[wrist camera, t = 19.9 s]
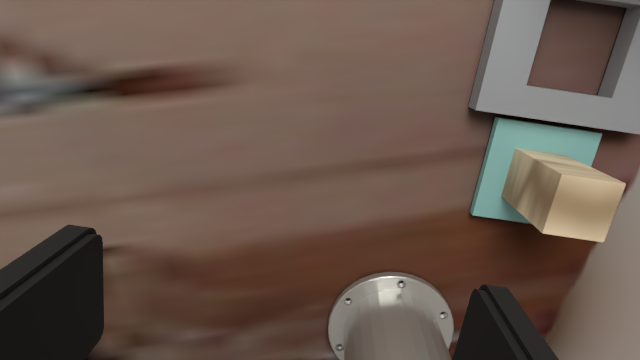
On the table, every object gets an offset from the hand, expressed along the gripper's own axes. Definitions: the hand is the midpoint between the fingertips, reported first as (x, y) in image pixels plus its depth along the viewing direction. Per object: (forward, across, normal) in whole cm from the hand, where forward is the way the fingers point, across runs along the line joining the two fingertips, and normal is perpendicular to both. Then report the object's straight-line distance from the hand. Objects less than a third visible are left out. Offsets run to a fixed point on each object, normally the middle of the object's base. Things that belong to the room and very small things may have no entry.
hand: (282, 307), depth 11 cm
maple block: (+28, -19, +2) cm, 34 cm away
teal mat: (+28, -20, +2) cm, 34 cm away
